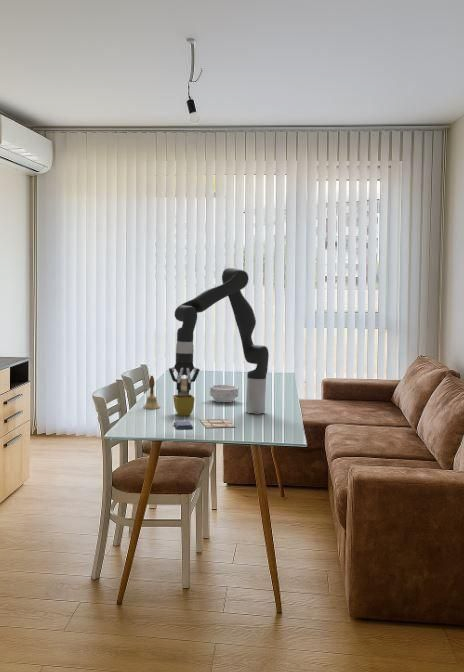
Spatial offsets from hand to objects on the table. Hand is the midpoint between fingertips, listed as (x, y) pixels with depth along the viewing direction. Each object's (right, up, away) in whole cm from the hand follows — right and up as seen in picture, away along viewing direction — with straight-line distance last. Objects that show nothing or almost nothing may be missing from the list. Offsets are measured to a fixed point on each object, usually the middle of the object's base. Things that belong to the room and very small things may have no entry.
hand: (183, 391), depth 281 cm
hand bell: (-19, -12, +42) cm, 47 cm away
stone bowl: (+17, -11, +64) cm, 68 cm away
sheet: (+15, -15, +9) cm, 23 cm away
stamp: (0, -2, 0) cm, 2 cm away
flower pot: (-2, -14, +26) cm, 30 cm away
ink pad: (0, -16, +1) cm, 16 cm away
